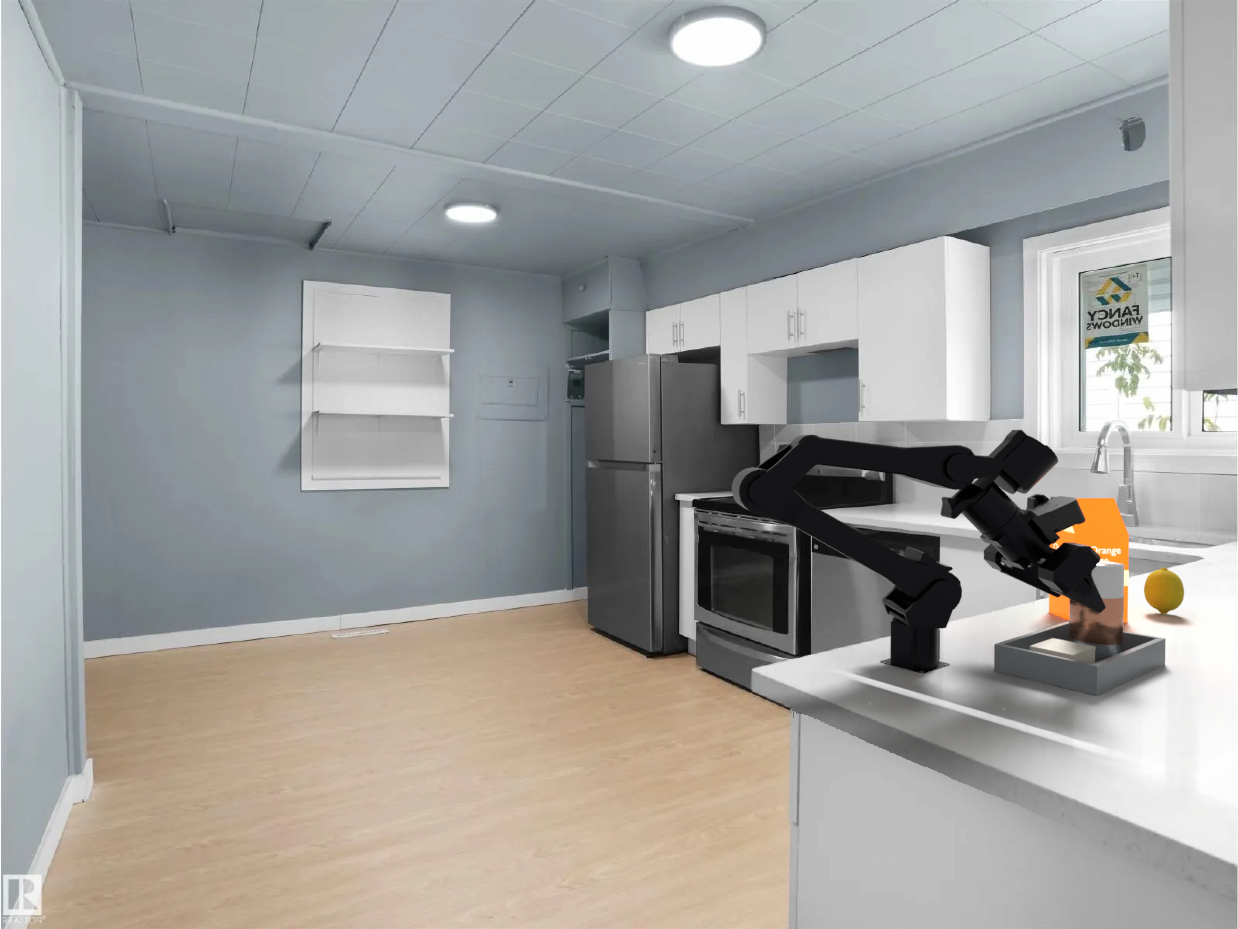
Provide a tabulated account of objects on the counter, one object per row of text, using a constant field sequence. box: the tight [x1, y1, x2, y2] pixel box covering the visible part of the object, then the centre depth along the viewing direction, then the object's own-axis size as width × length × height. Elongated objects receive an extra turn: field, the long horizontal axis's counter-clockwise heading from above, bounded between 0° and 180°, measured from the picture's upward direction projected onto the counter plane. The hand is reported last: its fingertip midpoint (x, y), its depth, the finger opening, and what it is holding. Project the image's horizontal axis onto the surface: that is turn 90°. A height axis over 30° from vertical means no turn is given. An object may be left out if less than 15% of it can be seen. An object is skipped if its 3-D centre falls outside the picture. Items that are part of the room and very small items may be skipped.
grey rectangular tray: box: [993, 620, 1167, 697], centre depth 98 cm, size 20×12×4 cm, turn 126°
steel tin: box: [1068, 560, 1125, 663], centre depth 101 cm, size 6×6×13 cm
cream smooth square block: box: [1030, 638, 1096, 664], centre depth 96 cm, size 6×5×4 cm
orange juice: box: [1048, 497, 1130, 623], centre depth 128 cm, size 8×9×20 cm
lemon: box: [1143, 567, 1185, 615], centre depth 130 cm, size 6×6×8 cm
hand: (1080, 602), depth 101 cm, fingers open, 9 cm apart
